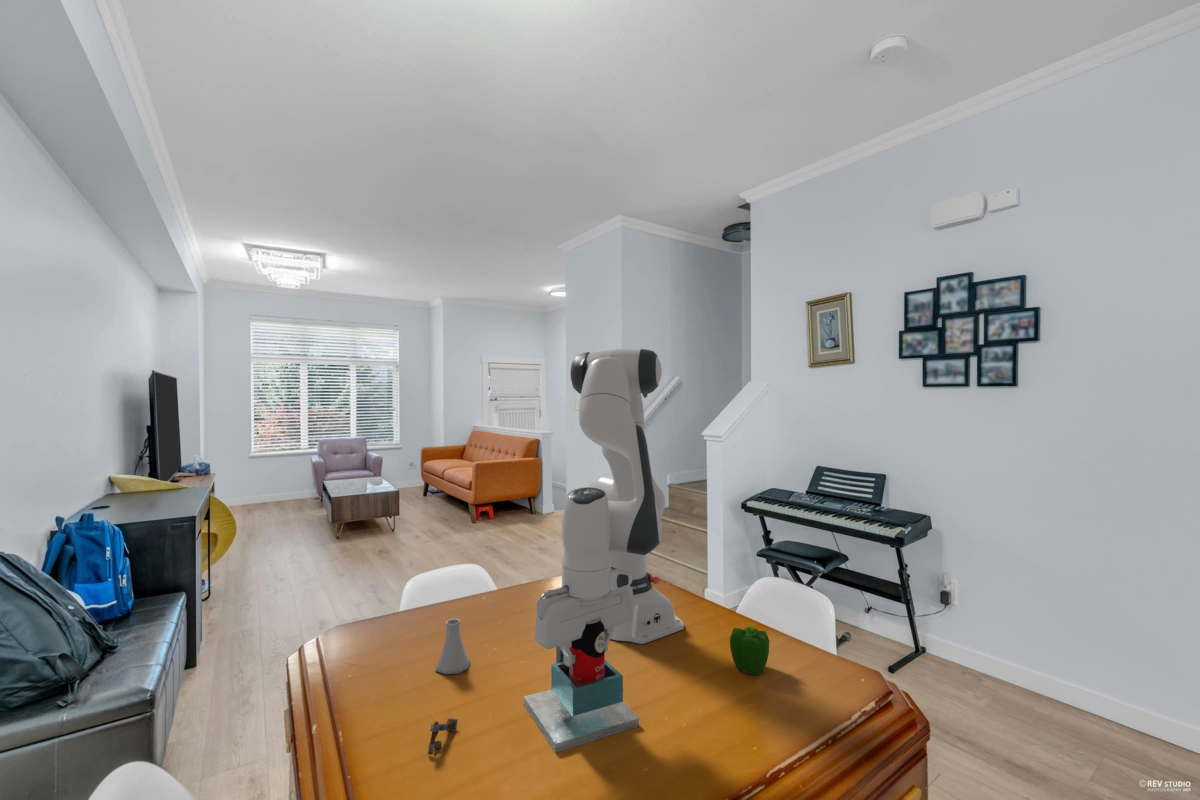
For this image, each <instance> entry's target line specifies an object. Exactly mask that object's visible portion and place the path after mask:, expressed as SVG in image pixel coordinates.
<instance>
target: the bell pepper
mask: <svg viewBox="0 0 1200 800" xmlns="http://www.w3.org/2000/svg"><path fill="white" fill-rule="evenodd" d="M729 648H730V652H731V657H732V660H733V663H734V666H735V668H736V669H737V670H740V671H744V673H747V674H749V675H759V674H760V675H761V674H762V672H763V671H764V670H765V668H766V666H767V661H768V658H769V653H770V639H769V636H768V633H767V632H766V630H759V629H757V628H756V627H755V626H754V625H753V624H749V625H748V626H747V627H744V629H743V628H739V627H733V629H732V632H731V634H730V636H729Z"/></svg>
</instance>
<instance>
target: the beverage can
mask: <svg viewBox="0 0 1200 800" xmlns="http://www.w3.org/2000/svg"><path fill="white" fill-rule="evenodd" d="M585 624H586V626H585V628H584V631H583V633H582V637H581V638H580V639H577V640H574V641H571V647H569V650H570V651H571V652H572V653H574V654H576V664H574V665H571V666H569V679H570V680H571V682H572V683H573V684H574V685H575V686H576V685H580V684H584V683H588V682H591V681H595V680H599V679H603V678H605V660H606V659H605V653H606V652H605V627H604V625H603V623H602V622H601V618H600V619H599V620H594V621H590V622H586V623H585Z"/></svg>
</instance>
